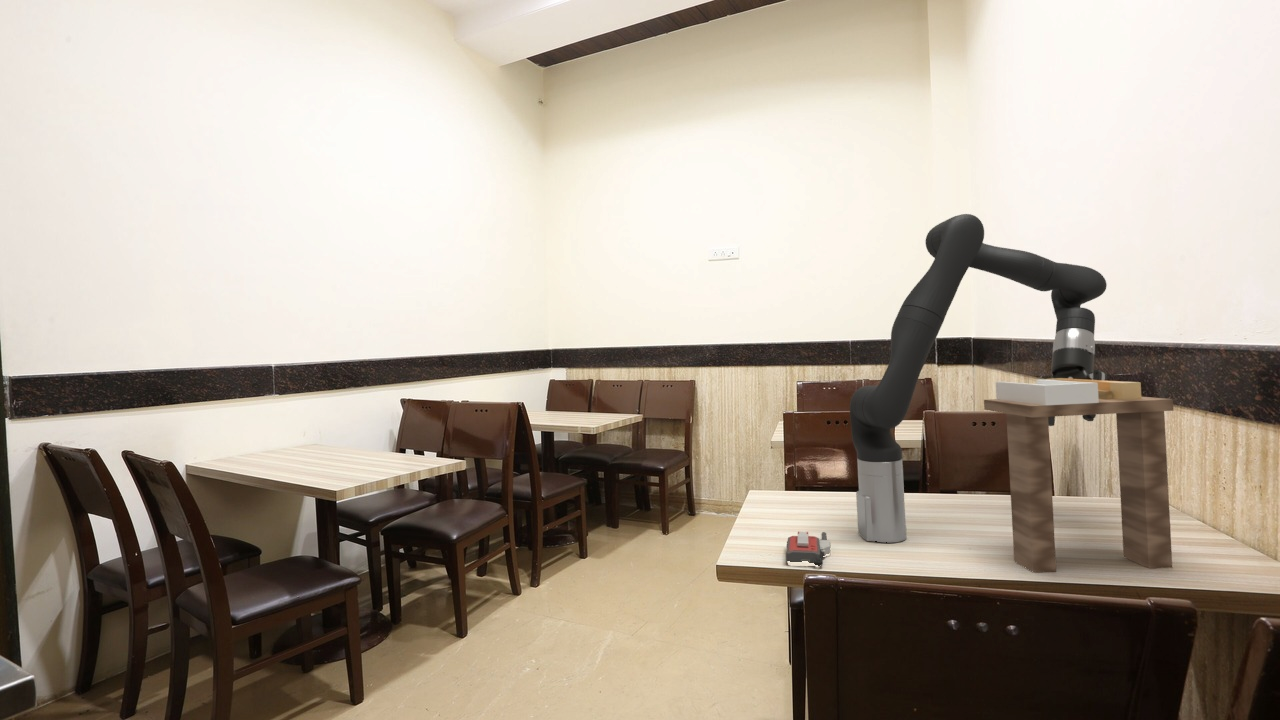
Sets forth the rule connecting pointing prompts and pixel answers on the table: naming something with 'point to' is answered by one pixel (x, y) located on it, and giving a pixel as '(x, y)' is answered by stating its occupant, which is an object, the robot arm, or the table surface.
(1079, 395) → the tray
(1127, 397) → the tan wooden bar
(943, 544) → the table surface
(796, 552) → the walkie-talkie
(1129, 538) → the shelf
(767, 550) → the table surface
